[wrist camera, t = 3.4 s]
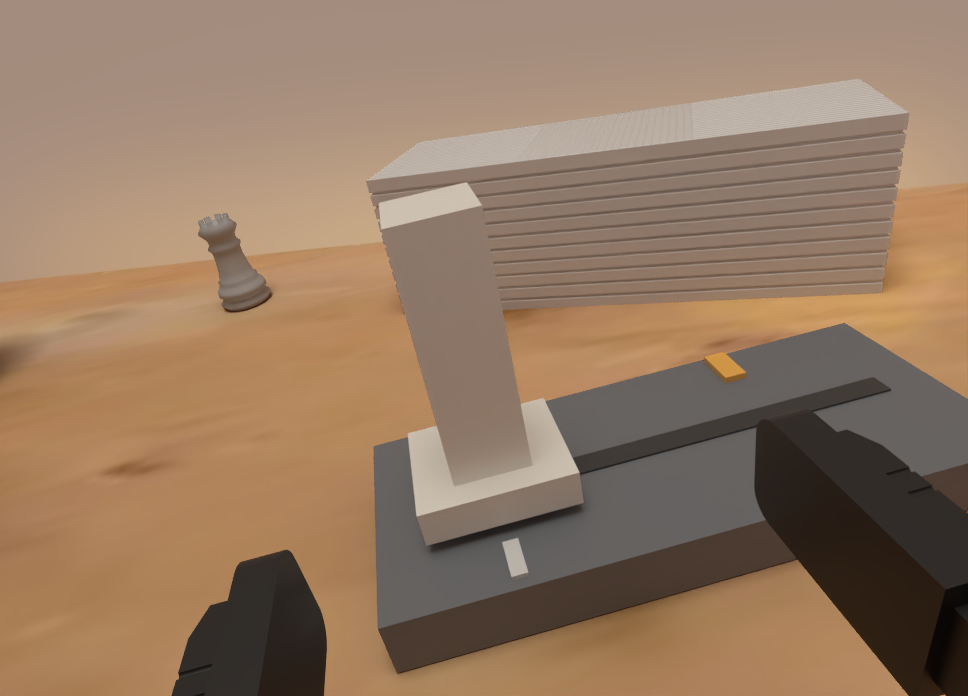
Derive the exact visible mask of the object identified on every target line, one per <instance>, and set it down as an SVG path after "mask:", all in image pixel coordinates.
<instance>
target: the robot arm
mask: <svg viewBox="0 0 968 696" xmlns="http://www.w3.org/2000/svg"><path fill="white" fill-rule="evenodd" d="M754 490H755V496H756V500H757V503H758V505H759V508H760V510H761V512H762V514H763V516H764V518H765V519H766V521H767V522H768V524H769V525H770V526H771V527H772V529H773V530H774V531H775V532H776V534H777V535H778V536H779V537H780V538H781V540H782V541H783V542H784V543H785V545H786V546H787V547H788V548H789V550H790V551H791V552H792V553H793V554H794V556H795V557H796V558H797V559H798V561H799V562H800V563H801V564H802V565H803V567H804V568H805V569H806V570H807V572H808V573H809V574H810V575H811V576H812V578H813V579H814V580H815V581H816V583H817V584H818V585H819V586H820V588H821V589H822V590H823V591H824V592H825V594H826V595H827V596H828V597H829V599H830V600H831V601H832V602H833V603H834V605H835V606H836V607H837V608H838V610H839V611H840V612H841V613H842V614H843V616H844V617H845V618H846V619H847V621H848V622H849V623H850V624H851V626H852V627H853V628H854V629H855V630H856V632H857V633H858V634H859V635H860V637H861V638H862V639H863V640H864V641H865V643H866V644H867V645H868V646H869V648H870V649H871V650H872V651H873V652H874V654H875V655H876V656H877V657H878V659H879V660H880V661H881V662H882V664H883V665H884V666H885V667H886V668H887V670H888V671H889V672H890V673H891V675H892V676H893V677H894V678H895V679H896V681H897V682H898V683H899V684H900V686H901V687H902V688H903V689H904V690H905V692H906V693H907V694H908V695H909V696H940V695H943V694H945V695H946V696H968V513H966V512H965V511H964V510H963V509H961V508H960V507H959V506H958V505H956V504H955V503H954V502H953V501H951V500H950V499H949V498H948V497H946V496H945V495H944V494H943V493H941V492H940V491H939V490H936V491H935V490H934V489H933V487H932V485H931V484H930V483H929V482H928V481H926V480H925V479H924V478H923V477H921V476H920V475H919V474H918V473H916V472H915V471H914V472H911V470H910V468H909V466H908V465H906V464H905V463H904V462H903V461H902V460H900V459H899V458H898V457H897V456H895V455H894V454H893V453H892V452H890V451H889V450H888V449H887V448H885V447H884V446H883V445H881V444H879V443H877V442H874V441H872V440H870V439H868V438H865V437H863V436H861V435H859V434H856V433H854V432H852V431H850V430H843V431H839V432H836V431H835V430H834V429H833V428H832V427H830V426H829V425H828V424H827V423H826V422H825V421H823V420H822V419H821V418H820V417H819V416H818V415H816V414H815V413H814V412H812V411H811V410H809V409H799V410H795V411H792V412H788V413H784V414H781V415H777V416H773V417H769V418H766V419H762V420H760V421H759V422H758V424H757V428H756V448H755V476H754ZM326 653H327V639H326V630H325V624H324V620H323V616H322V613H321V610H320V608H319V606H318V604H317V602H316V600H315V598H314V596H313V594H312V592H311V590H310V588H309V586H308V584H307V582H306V580H305V578H304V576H303V574H302V572H301V570H300V568H299V566H298V564H297V562H296V560H295V558H294V556H293V554H292V553H291V552H290V551H289V550H283V551H280V552H276V553H272V554H269V555H265V556H261V557H258V558H254V559H250V560H246V561H243V562H240V563H239V564H238V566H237V568H236V570H235V573H234V577H233V581H232V585H231V589H230V594H229V598H228V601H225V602H221V603H217V604H214V605H210V607H209V608H208V610H207V611H206V613H205V614H204V616H203V617H202V619H201V620H200V622H199V623H198V625H197V626H196V628H195V629H194V631H193V632H192V634H191V635H190V637H189V638H188V642H187V645H186V649H185V652H184V655H183V659H182V662H181V666H180V669H179V672H178V674H179V680H176V682H175V686H174V689H173V693H172V696H324V684H325V669H326Z"/></svg>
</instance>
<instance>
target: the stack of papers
mask: <svg viewBox="0 0 968 696" xmlns="http://www.w3.org/2000/svg"><path fill="white" fill-rule="evenodd" d="M908 118H909V112H907V111H906V110H905V109H903V108H902V107H900V106H899V105H897V104H896V103H894V102H893V101H891V100H890V99H889V98H887V97H886V96H884V95H883V94H881V93H880V92H878V91H877V90H875V89H874V88H872V87H871V86H869V85H868V84H866V83H865V82H864V81H862V80H861V79H854V80H847V81H840V82H833V83H826V84H820V85H812V86H805V87H798V88H791V89H785V90H778V91H771V92H764V93H757V94H750V95H743V96H736V97H729V98H722V99H715V100H708V101H701V102H694V103H687V104H681V105H673V106H666V107H659V108H653V109H645V110H638V111H632V112H626V113H619V114H612V115H606V116H605V115H604V116H597V117H590V118H583V119H576V120H570V121H563V122H557V123H556V122H555V123H548V124H542V125H534V126H527V127H520V128H514V129H507V130H500V131H493V132H486V133H479V134H472V135H465V136H458V137H451V138H444V139H437V140H431V141H423V142H420V143H418V144H417V145H416V146H414V147H413V148H411V149H410V150H408V151H407V152H406V153H404V154H403V155H401V156H400V157H399V158H397V159H396V160H394V161H393V162H392V163H390V164H389V165H387V166H386V167H385V168H383V169H382V170H380V171H379V172H378V173H376V174H375V175H373V176H372V177H371V178H369V179H368V180H367V181H366V182H367V186H368V189H369V192H370V193H373V195H372V196H371V200H372V203H373V206H376V207H377V208H376V209H375V214H376V217H377V219H380V212H379V203H381V202H385V201H389V200H393V199H398V198H402V197H406V196H410V195H414V194H419V193H423V192H427V191H431V190H436V189H440V188H444V187H448V186H452V185H457V184H461V183H465V182H467V183H468V185H469V186H470V188H471V189H472V191H473V192H474V194H475V195H476V197H477V198H478V200H479V202H480V203H481V205H482V208H483V213H484V218H485V223H486V229H487V234H488V239H489V244H490V249H491V254H492V260H493V265H494V270H495V275H496V280H497V285H498V290H499V296H500V301H501V306H502V310H510V309H533V308H556V307H578V306H601V305H624V304H646V303H669V302H692V301H714V300H737V299H760V298H782V297H805V296H827V295H850V294H873V293H882V289H883V282H882V280H881V279H884V276H885V269H886V268H885V267H884V264H886V263H887V256H888V253H887V251H886V250H885V249H889V243H890V237H889V235H888V234H889V233H891V230H892V223H893V221H892V220H891V219H890V217H894V210H895V204H894V203H893V202H892V201H896V197H897V190H898V188H897V187H896V186H895V184H898V183H899V177H900V170H899V169H898V168H897V167H898V166H901V164H902V158H903V152H902V151H901V150H900V148H904V144H905V137H906V134H905V133H904V132H902V131H903V130H906V129H907V125H908ZM378 224H379V228H380V231H381V224H380V221H379V222H378ZM381 232H382V231H381ZM382 238H383V235H382ZM383 242H384V238H383ZM384 245H385V242H384ZM385 249H386V248H385ZM386 252H387V249H386ZM387 256H388V252H387ZM388 257H389V256H388ZM389 263H390V260H389ZM390 266H391V263H390ZM391 269H392V266H391ZM392 273H393V272H392ZM393 277H394V273H393ZM394 280H395V277H394ZM395 281H396V280H395ZM396 287H397V284H396ZM397 291H398V288H397ZM398 292H399V291H398ZM399 298H400V295H399ZM400 301H401V298H400ZM401 304H402V302H401ZM402 308H403V306H402ZM403 312H404V309H403ZM404 314H405V312H404Z"/></svg>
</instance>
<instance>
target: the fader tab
mask: <svg viewBox="0 0 968 696" xmlns="http://www.w3.org/2000/svg"><path fill="white" fill-rule="evenodd" d="M379 212H380V224H381V231H382V235H383V238H384V242H385V245H386V249H387V252H388V256H389V259H390V263H391V266H392V270H393V273H394V277H395V280H396V284H397V288H398V291H399V295H400V298H401V302H402V305H403V309H404V312H405V316H406V319H407V323H408V326H409V330H410V333H411V337H412V340H413V344H414V347H415V351H416V354H417V358H418V361H419V365H420V368H421V372H422V375H423V379H424V382H425V386H426V390H427V393H428V397H429V400H430V404H431V407H432V411H433V414H434V418H435V421H436V425H437V426H434V427H430V428H427V429H423V430H419V431H415V432H411V433H408V442H409V451H410V461H411V470H412V479H413V488H414V498H415V507H416V516H417V519H418V522H419V525H420V528H421V531H422V534H423V537H424V540H425V543H426V546H428V545H432V544H435V543H439V542H443V541H446V540H450V539H454V538H457V537H461V536H465V535H468V534H472V533H476V532H479V531H483V530H487V529H490V528H494V527H497V526H501V525H505V524H508V523H512V522H516V521H519V520H523V519H527V518H530V517H534V516H538V515H541V514H545V513H549V512H552V511H556V510H560V509H563V508H567V507H571V506H574V505H578V504H581V503H584V500H583V493H582V486H581V479H580V472H579V470H578V468H577V466H576V464H575V462H574V460H573V458H572V456H571V454H570V452H569V450H568V448H567V446H566V443H565V441H564V439H563V437H562V435H561V433H560V431H559V429H558V427H557V425H556V423H555V421H554V419H553V417H552V415H551V412H550V410H549V408H548V406H547V404H546V402H545V400H544V398H541V399H538V400H534V401H530V402H526V403H522V404H520V399H519V394H518V388H517V383H516V378H515V373H514V368H513V363H512V357H511V352H510V347H509V342H508V337H507V332H506V327H505V321H504V316H503V311H502V306H501V301H500V296H499V290H498V285H497V280H496V275H495V270H494V265H493V260H492V254H491V249H490V244H489V239H488V234H487V229H486V223H485V218H484V213H483V208H482V205H481V203H480V202H479V200H478V198H477V197H476V195H475V194H474V192H473V191H472V189H471V188H470V186H469V185H468V183H467V182H465V183H461V184H457V185H452V186H448V187H444V188H440V189H436V190H431V191H427V192H423V193H419V194H414V195H410V196H406V197H402V198H398V199H393V200H389V201H385V202H381V203H379Z"/></svg>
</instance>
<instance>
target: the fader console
mask: <svg viewBox="0 0 968 696" xmlns="http://www.w3.org/2000/svg"><path fill="white" fill-rule="evenodd" d="M545 402H546V404H547V406H548V408H549V410H550V412H551V415H552V417H553V419H554V421H555V423H556V425H557V427H558V429H559V431H560V433H561V435H562V437H563V439H564V441H565V443H566V446H567V448H568V450H569V452H570V454H571V456H572V458H573V460H574V462H575V464H576V466H577V468H578V470H579V472H580V479H581V486H582V493H583V500H584V503H581V504H578V505H574V506H571V507H567V508H563V509H560V510H556V511H552V512H549V513H545V514H541V515H538V516H534V517H530V518H527V519H523V520H519V521H516V522H512V523H508V524H505V525H501V526H497V527H494V528H490V529H487V530H483V531H479V532H476V533H472V534H468V535H465V536H461V537H457V538H454V539H450V540H446V541H443V542H439V543H435V544H432V545H428V546H426V543H425V540H424V537H423V534H422V531H421V528H420V525H419V522H418V519H417V516H416V507H415V498H414V488H413V479H412V470H411V461H410V451H409V442H408V437H407V438H404V439H400V440H396V441H392V442H388V443H384V444H381V445H377V446H374V483H375V526H376V568H377V611H378V630H379V633H380V635H381V637H382V639H383V642H384V644H385V646H386V649H387V651H388V653H389V656H390V658H391V660H392V662H393V665H394V667H395V669H396V672H397V673H400V672H404V671H407V670H411V669H414V668H418V667H421V666H425V665H428V664H432V663H435V662H439V661H442V660H446V659H449V658H453V657H456V656H460V655H463V654H467V653H470V652H474V651H477V650H481V649H484V648H488V647H491V646H495V645H498V644H502V643H505V642H509V641H512V640H516V639H519V638H523V637H526V636H530V635H533V634H537V633H540V632H544V631H547V630H551V629H554V628H558V627H561V626H565V625H568V624H572V623H575V622H579V621H582V620H586V619H589V618H593V617H596V616H600V615H603V614H607V613H610V612H614V611H617V610H621V609H624V608H628V607H631V606H635V605H638V604H642V603H645V602H649V601H652V600H656V599H659V598H663V597H666V596H670V595H673V594H677V593H680V592H684V591H687V590H691V589H694V588H697V587H701V586H704V585H708V584H711V583H715V582H718V581H722V580H725V579H729V578H732V577H736V576H739V575H743V574H746V573H750V572H753V571H757V570H760V569H764V568H767V567H771V566H774V565H778V564H781V563H785V562H788V561H792V560H795V559H797V558H796V557H795V556H794V554H793V553H792V552H791V551H790V550H789V548H788V547H787V546H786V545H785V543H784V542H783V541H782V540H781V538H780V537H779V536H778V535H777V534H776V532H775V531H774V530H773V529H772V527H771V526H770V525H769V524H768V522H767V521H766V519H765V518H764V516H763V514H762V512H761V510H760V508H759V505H758V503H757V500H756V496H755V490H754V476H755V448H756V428H757V424H758V422H759V421H760V420H762V419H766V418H769V417H773V416H777V415H781V414H784V413H788V412H792V411H795V410H799V409H809V410H811V411H812V412H814V413H815V414H816V415H818V416H819V417H820V418H821V419H822V420H823V421H825V422H826V423H827V424H828V425H829V426H830V427H832V428H833V429H834V430H835V431H836V432H839V431H843V430H850V431H852V432H854V433H856V434H859V435H861V436H863V437H865V438H868V439H870V440H872V441H874V442H877V443H879V444H881V445H883V446H884V447H885V448H887V449H888V450H889V451H890V452H892V453H893V454H894V455H895V456H897V457H898V458H899V459H900V460H902V461H903V462H904V463H905V464H906V465H908V466H909V468H910V470H911V472H914V471H915V472H916V473H918V474H919V475H920V476H921V477H923V478H924V479H925V480H926V481H928V482H929V483H930V484H931V485H932V487H933V489H934V490H935V491H936V490H939V491H940V492H941V493H943V494H944V495H945V496H946V497H948V498H949V499H950V500H951V501H953V502H954V503H955V504H956V505H958V506H959V507H960V508H961V509H963V510H964V511H967V510H968V399H967V398H965V397H963V396H962V395H960V394H959V393H957V392H955V391H954V390H952V389H950V388H949V387H947V386H946V385H944V384H942V383H941V382H939V381H937V380H936V379H934V378H933V377H931V376H929V375H928V374H926V373H925V372H923V371H921V370H920V369H918V368H916V367H915V366H913V365H912V364H910V363H908V362H907V361H905V360H904V359H902V358H900V357H899V356H897V355H895V354H894V353H892V352H891V351H889V350H887V349H886V348H884V347H882V346H881V345H879V344H878V343H876V342H874V341H873V340H871V339H870V338H868V337H866V336H865V335H863V334H861V333H860V332H858V331H857V330H855V329H853V328H852V327H850V326H848V325H847V324H845V323H843V324H839V325H835V326H831V327H827V328H823V329H820V330H816V331H812V332H808V333H804V334H801V335H797V336H793V337H789V338H785V339H781V340H778V341H774V342H770V343H766V344H762V345H759V346H755V347H751V348H747V349H743V350H739V351H736V352H732V353H728V354H725V353H724V352H722V353H718V354H714V355H710V356H706V357H704V360H701V361H697V362H694V363H690V364H686V365H682V366H678V367H675V368H671V369H667V370H663V371H659V372H656V373H652V374H648V375H644V376H640V377H636V378H633V379H629V380H625V381H621V382H617V383H614V384H610V385H606V386H602V387H598V388H594V389H591V390H587V391H583V392H579V393H575V394H572V395H568V396H564V397H560V398H556V399H552V400H549V401H545Z"/></svg>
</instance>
